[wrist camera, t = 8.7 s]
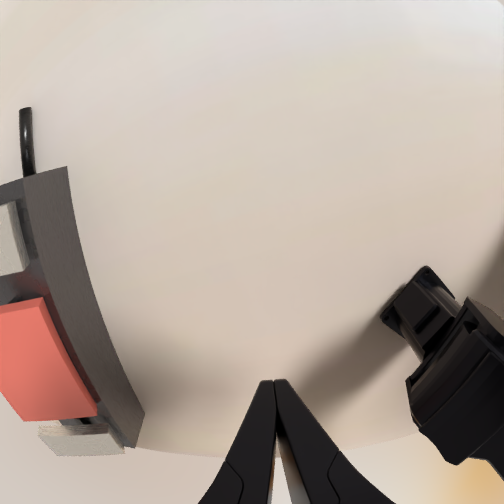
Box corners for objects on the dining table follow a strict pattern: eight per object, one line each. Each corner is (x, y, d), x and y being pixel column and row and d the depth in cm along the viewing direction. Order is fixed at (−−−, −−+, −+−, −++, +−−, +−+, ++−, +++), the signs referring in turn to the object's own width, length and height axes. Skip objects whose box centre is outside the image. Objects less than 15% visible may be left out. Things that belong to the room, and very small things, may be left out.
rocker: (42, 297, 16) (38, 306, 15) (96, 404, 21) (97, 415, 19) (-35, 312, 13) (-41, 321, 12) (25, 411, 17) (23, 421, 16)
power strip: (62, 95, 16) (-32, 89, 6) (145, 413, 29) (126, 480, 19) (-8, 129, 16) (-85, 144, 6) (80, 402, 29) (55, 457, 20)
